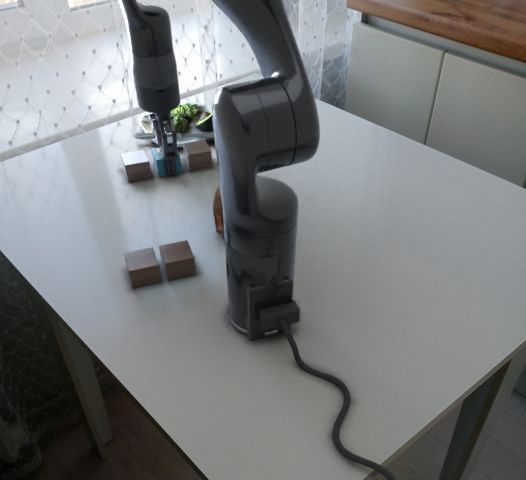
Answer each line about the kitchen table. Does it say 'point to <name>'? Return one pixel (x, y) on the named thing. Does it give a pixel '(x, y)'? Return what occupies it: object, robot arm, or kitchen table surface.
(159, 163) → the letter S
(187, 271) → the brown wooden block pair
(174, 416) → the kitchen table surface
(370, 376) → the kitchen table surface
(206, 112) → the salad plate
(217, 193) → the tin
